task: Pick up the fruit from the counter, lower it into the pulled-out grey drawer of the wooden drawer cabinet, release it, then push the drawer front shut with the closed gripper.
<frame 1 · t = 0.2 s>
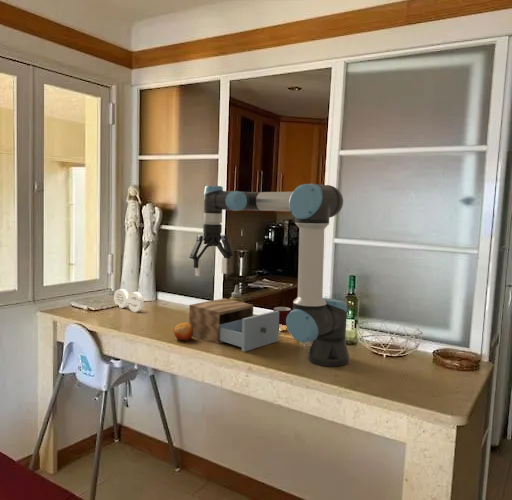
hand: (211, 274, 199), 27 cm above the breakfast bar, fingers open, 13 cm apart
contact lens case: (128, 309, 250), on the breakfast bar
wooden drawer cabinet: (221, 334, 209), on the breakfast bar
squeeze bottle: (235, 322, 230), on the breakfast bar
fruit: (183, 339, 200), on the breakfast bar
mug: (279, 331, 218), on the breakfast bar
grey drawer: (246, 326, 198), point 7 cm above the breakfast bar, slide at 13.0 cm
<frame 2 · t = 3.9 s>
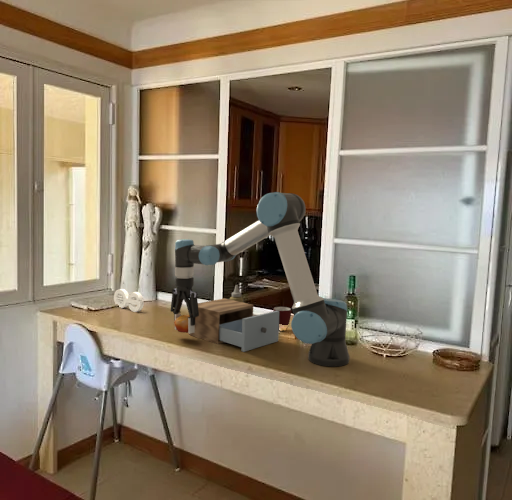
hand: (184, 330, 199), 4 cm above the breakfast bar, fingers closed on fruit, 8 cm apart
fruit: (184, 332, 200), point 3 cm above the breakfast bar, touching gripper
everything else where it was.
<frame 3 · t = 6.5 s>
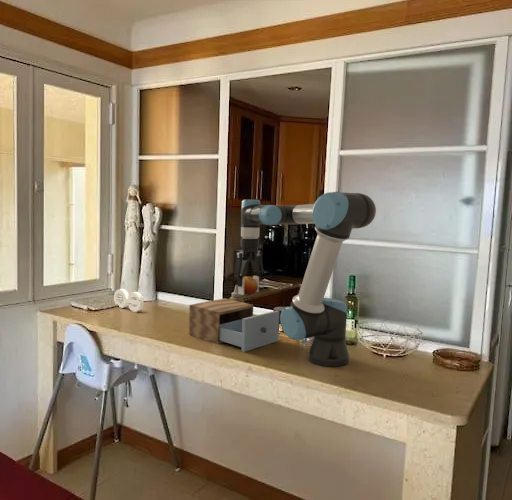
hand: (248, 292, 196), 21 cm above the breakfast bar, fingers closed on fruit, 8 cm apart
fruit: (248, 294, 196), point 20 cm above the breakfast bar, touching gripper
everything else where it was.
when the fingers open (3 cm above the breakfast bar, at t = 9.5 s): fruit drops 1 cm, resting on grey drawer.
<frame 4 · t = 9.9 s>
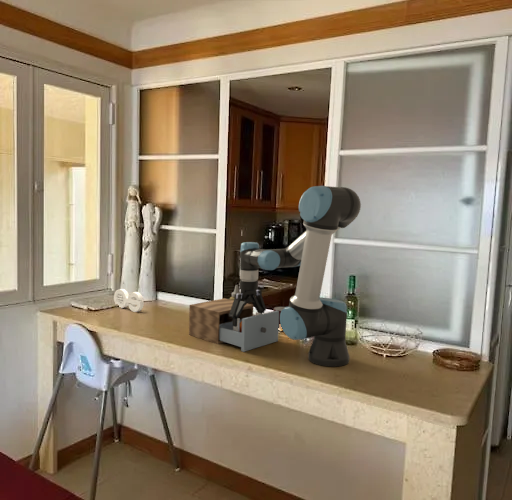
hand: (247, 330, 198), 5 cm above the breakfast bar, fingers open, 13 cm apart
fruit: (246, 337, 198), point 2 cm above the breakfast bar, touching grey drawer
grey drawer: (246, 326, 198), point 7 cm above the breakfast bar, slide at 12.9 cm, touching fruit
everything else where it was.
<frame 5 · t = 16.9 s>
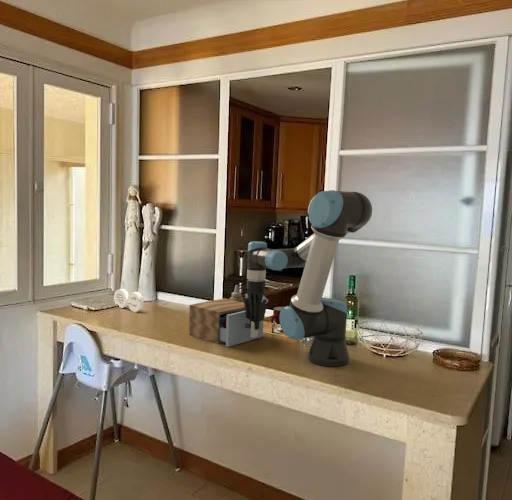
hand: (254, 336, 196), 3 cm above the breakfast bar, fingers closed
fruit: (232, 333, 204), point 2 cm above the breakfast bar, touching grey drawer
grey drawer: (232, 322, 204), point 7 cm above the breakfast bar, slide at 4.4 cm, touching fruit, hand
everything else where it was.
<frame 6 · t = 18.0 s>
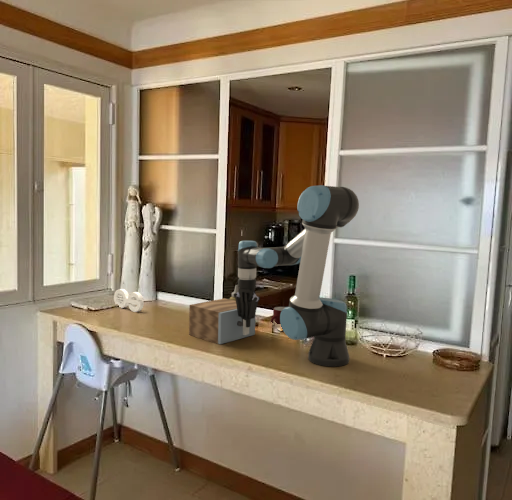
hand: (245, 334, 199), 3 cm above the breakfast bar, fingers closed
fruit: (224, 331, 207), point 2 cm above the breakfast bar, touching grey drawer
grey drawer: (224, 320, 207), point 7 cm above the breakfast bar, slide at -0.2 cm, touching wooden drawer cabinet, fruit, hand
everything else where it was.
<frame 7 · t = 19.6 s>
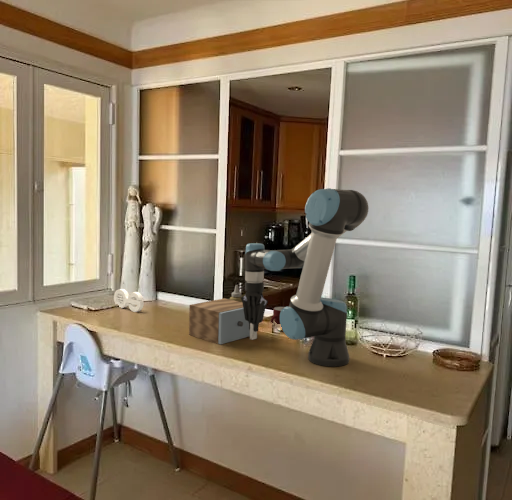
hand: (253, 338, 196), 2 cm above the breakfast bar, fingers closed
grey drawer: (224, 320, 207), point 7 cm above the breakfast bar, slide at 0.0 cm, touching fruit
everything else where it was.
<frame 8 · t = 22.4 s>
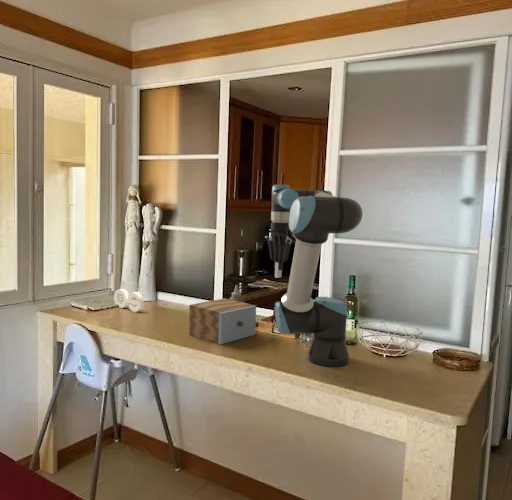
hand: (278, 277, 203), 26 cm above the breakfast bar, fingers closed
nothing on the breakfast bar moved.
at the end: grey drawer slide at 0.0 cm; fruit inside the target area (2.0 cm from its centre), point 1.9 cm above the breakfast bar; the gripper is holding nothing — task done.
